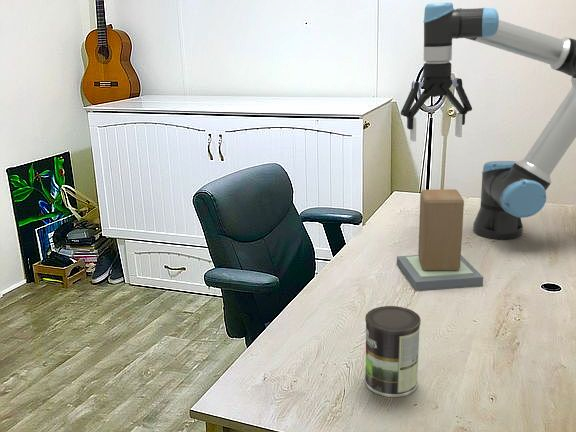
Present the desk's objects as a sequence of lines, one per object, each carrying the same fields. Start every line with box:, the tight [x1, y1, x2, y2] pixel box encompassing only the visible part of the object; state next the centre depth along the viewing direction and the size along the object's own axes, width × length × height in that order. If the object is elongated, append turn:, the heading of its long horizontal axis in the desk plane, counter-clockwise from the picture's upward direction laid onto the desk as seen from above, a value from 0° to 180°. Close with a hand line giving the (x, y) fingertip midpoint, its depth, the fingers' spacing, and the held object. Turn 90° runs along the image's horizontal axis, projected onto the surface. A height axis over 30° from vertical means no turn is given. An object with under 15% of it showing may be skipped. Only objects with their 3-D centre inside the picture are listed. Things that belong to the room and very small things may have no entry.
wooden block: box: [417, 188, 465, 270], centre depth 168 cm, size 10×10×20 cm
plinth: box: [396, 254, 484, 292], centre depth 171 cm, size 18×18×3 cm
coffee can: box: [364, 305, 422, 398], centre depth 121 cm, size 10×10×14 cm
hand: (435, 138), depth 179 cm, fingers open, 13 cm apart
